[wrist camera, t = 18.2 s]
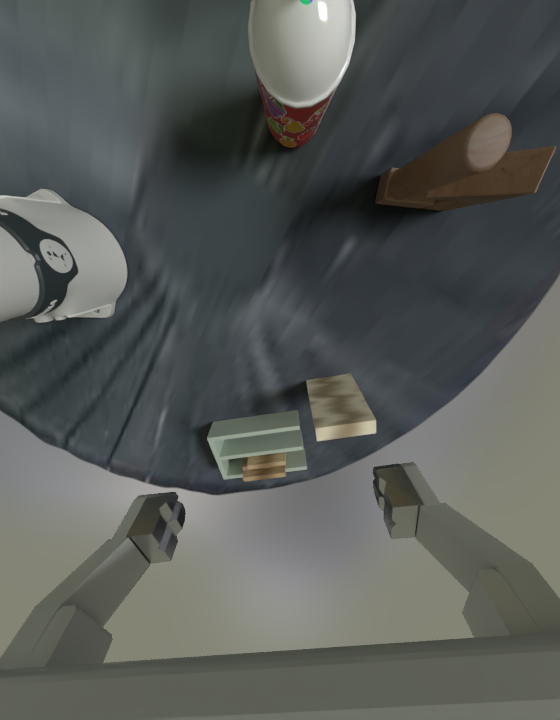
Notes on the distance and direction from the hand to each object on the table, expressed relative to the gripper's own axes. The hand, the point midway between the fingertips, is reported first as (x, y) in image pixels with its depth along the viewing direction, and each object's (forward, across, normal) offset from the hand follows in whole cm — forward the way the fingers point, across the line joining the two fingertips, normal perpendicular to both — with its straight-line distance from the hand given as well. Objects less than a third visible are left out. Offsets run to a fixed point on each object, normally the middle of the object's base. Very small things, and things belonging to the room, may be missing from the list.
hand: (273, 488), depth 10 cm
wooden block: (+35, -22, -12) cm, 43 cm away
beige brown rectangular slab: (+35, -7, +18) cm, 40 cm away
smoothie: (+35, -6, -23) cm, 43 cm away
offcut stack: (+35, +9, +33) cm, 49 cm away
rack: (+35, +9, +30) cm, 47 cm away
